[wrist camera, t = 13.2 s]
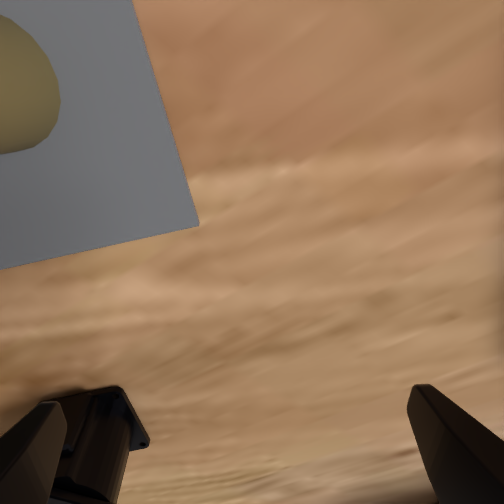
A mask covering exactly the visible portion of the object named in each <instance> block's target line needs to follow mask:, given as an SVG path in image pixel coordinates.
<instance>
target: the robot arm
mask: <svg viewBox="0 0 504 504" xmlns="http://www.w3.org/2000/svg"><path fill="white" fill-rule="evenodd" d="M407 414H408V417H409V421H410V424H411V427H412V430H413V433H414V436H415V439H416V442H417V445H418V448H419V451H420V454H421V457H422V460H423V463H424V466H425V469H426V472H427V475H428V477H429V480H430V482H431V484H432V487H433V489H434V491H435V494H436V496H437V498H438V500H439V503H440V504H504V441H503V440H502V439H500V438H499V437H498V436H496V435H495V434H494V433H493V432H491V431H490V430H489V429H487V428H486V427H485V426H484V425H482V424H481V423H480V422H478V421H477V420H476V419H475V418H473V417H472V416H471V415H469V414H468V413H467V412H466V411H464V410H463V409H462V408H460V407H459V406H458V405H457V404H455V403H454V402H453V401H451V400H450V399H449V398H448V397H446V396H445V395H444V394H442V393H441V392H440V391H439V390H437V389H436V388H435V387H433V386H432V385H430V384H416V385H414V386H413V387H412V390H411V393H410V397H409V400H408V404H407ZM149 443H150V438H149V436H148V434H147V432H146V431H145V429H144V427H143V425H142V423H141V421H140V419H139V418H138V416H137V414H136V412H135V410H134V408H133V406H132V405H131V403H130V401H129V399H128V397H127V395H126V393H125V392H124V390H123V389H122V388H120V387H112V388H107V389H102V390H97V391H92V392H88V393H83V394H78V395H73V396H68V397H63V398H58V399H53V400H48V401H43V402H40V403H38V404H37V406H35V407H34V408H33V409H32V410H31V411H30V412H29V413H27V414H26V415H25V416H24V417H23V418H22V419H21V420H20V421H18V422H17V423H16V424H15V425H14V426H13V427H12V428H10V429H9V430H8V431H7V432H6V433H5V434H4V435H3V436H1V437H0V504H116V503H117V499H118V495H119V491H120V487H121V483H122V479H123V475H124V471H125V467H126V463H127V459H128V455H129V451H134V450H139V449H144V448H147V447H148V446H149Z"/></svg>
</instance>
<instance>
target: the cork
mask: <svg viewBox="0 0 504 504" xmlns="http://www.w3.org/2000/svg"><path fill="white" fill-rule="evenodd" d="M60 104H61V100H60V92H59V85H58V79H57V77H56V75H55V72H54V70H53V68H52V65H51V63H50V61H49V58H48V57H47V55H46V54H45V53H44V51H43V50H42V49H41V47H40V46H39V45H38V44H37V42H36V41H35V40H34V38H33V37H32V36H31V35H30V34H29V33H27V32H26V31H25V30H24V29H22V28H21V27H20V26H19V25H17V24H16V23H15V22H14V21H12V20H11V19H9V18H7V17H5V16H2V15H0V154H6V153H12V152H17V151H21V150H25V149H29V148H33V147H35V146H36V145H37V144H39V143H40V142H42V141H43V140H44V139H46V138H47V137H48V136H49V134H50V133H51V131H52V129H53V128H54V126H55V125H56V123H57V120H58V115H59V110H60Z"/></svg>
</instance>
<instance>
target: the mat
mask: <svg viewBox="0 0 504 504" xmlns="http://www.w3.org/2000/svg"><path fill="white" fill-rule="evenodd" d="M0 15H2V16H5V17H7V18H9V19H11V20H12V21H14V22H15V23H16V24H17V25H19V26H20V27H21V28H22V29H24V30H25V31H26V32H27V33H29V34H30V35H31V36H32V37H33V38H34V40H35V41H36V42H37V44H38V45H39V46H40V47H41V49H42V50H43V51H44V53H45V54H46V55H47V57H48V58H49V61H50V63H51V65H52V68H53V70H54V72H55V75H56V77H57V79H58V85H59V92H60V100H61V104H60V110H59V115H58V120H57V123H56V125H55V126H54V128H53V129H52V131H51V133H50V134H49V136H48V137H47V138H46V139H44V140H43V141H42V142H40V143H39V144H37V145H36V146H35V147H33V148H29V149H25V150H21V151H17V152H12V153H6V154H0V270H2V269H6V268H11V267H15V266H20V265H24V264H29V263H33V262H38V261H42V260H47V259H51V258H56V257H60V256H65V255H69V254H74V253H78V252H83V251H88V250H92V249H97V248H101V247H106V246H110V245H115V244H119V243H124V242H128V241H133V240H137V239H142V238H146V237H151V236H155V235H160V234H164V233H169V232H173V231H178V230H183V229H187V228H192V227H196V226H199V219H198V216H197V213H196V210H195V206H194V203H193V200H192V196H191V193H190V190H189V187H188V183H187V180H186V177H185V174H184V170H183V167H182V164H181V160H180V157H179V154H178V151H177V147H176V144H175V141H174V137H173V134H172V131H171V128H170V124H169V121H168V118H167V115H166V111H165V108H164V105H163V101H162V98H161V95H160V92H159V88H158V85H157V82H156V78H155V75H154V72H153V69H152V65H151V62H150V59H149V55H148V52H147V49H146V46H145V42H144V39H143V36H142V33H141V29H140V26H139V23H138V19H137V16H136V13H135V10H134V6H133V3H132V0H0Z"/></svg>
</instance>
